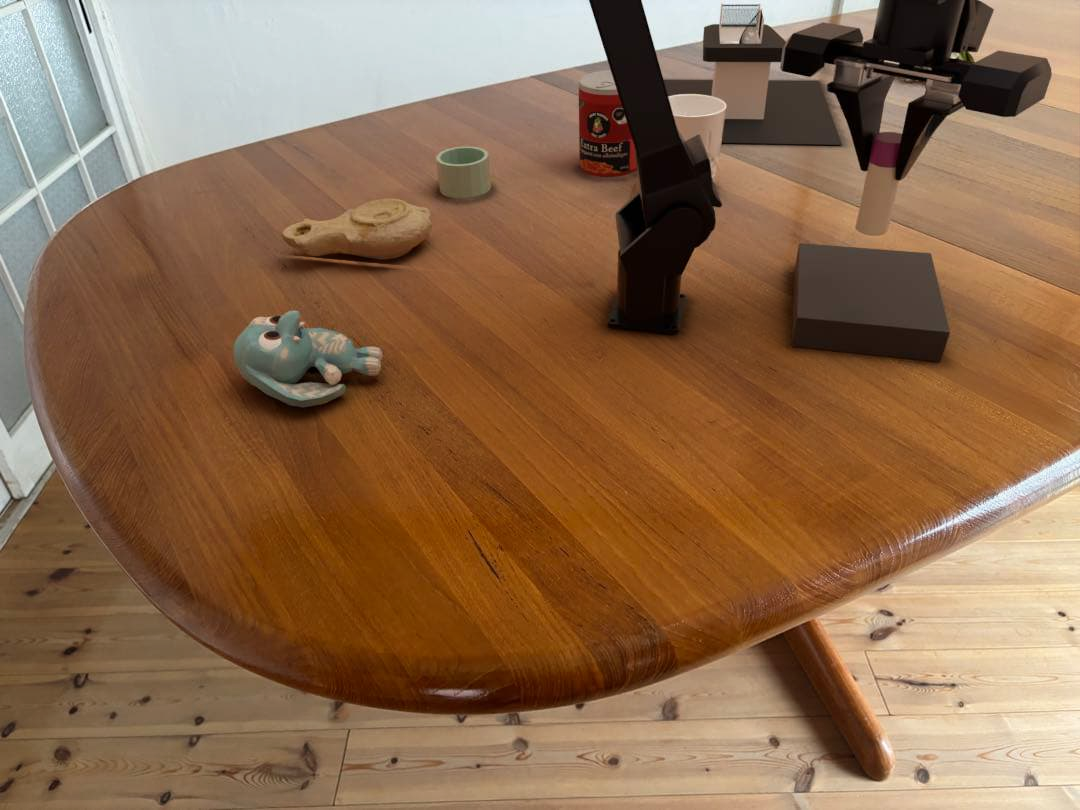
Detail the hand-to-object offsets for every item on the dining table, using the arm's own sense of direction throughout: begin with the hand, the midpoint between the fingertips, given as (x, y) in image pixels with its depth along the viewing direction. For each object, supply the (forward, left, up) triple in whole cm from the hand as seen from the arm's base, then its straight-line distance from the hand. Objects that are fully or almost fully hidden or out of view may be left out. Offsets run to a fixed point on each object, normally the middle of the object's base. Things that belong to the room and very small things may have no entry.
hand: (883, 174), depth 68 cm
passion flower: (+75, -14, -13) cm, 77 cm away
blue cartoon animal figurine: (-20, +44, -13) cm, 50 cm away
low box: (0, -1, -13) cm, 13 cm away
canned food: (+30, +28, -13) cm, 43 cm away
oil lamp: (+2, +49, -13) cm, 51 cm away
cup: (+20, +44, -13) cm, 50 cm away
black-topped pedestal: (+55, +14, -13) cm, 58 cm away
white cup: (+25, +18, -13) cm, 33 cm away
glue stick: (0, 0, -5) cm, 5 cm away
